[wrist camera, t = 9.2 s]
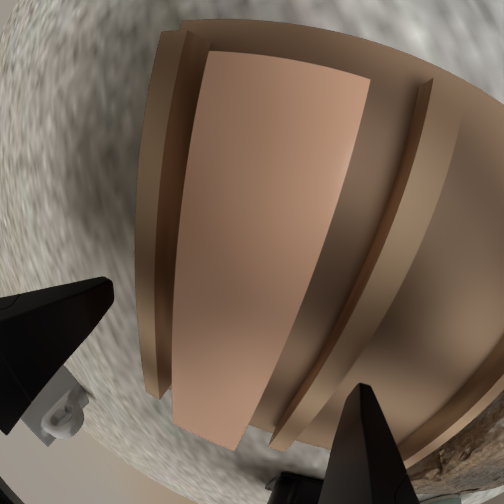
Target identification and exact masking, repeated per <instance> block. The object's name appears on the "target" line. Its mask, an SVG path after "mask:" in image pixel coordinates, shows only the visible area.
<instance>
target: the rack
mask: <svg viewBox="0 0 504 504" xmlns="http://www.w3.org/2000/svg"><path fill="white" fill-rule="evenodd" d="M180 30H189V31H191V32H193V33H195V34H197V35H199V36H201V37H202V38H204V39H206V40H208V41H210V42H211V45H210V49H209V51H222V52H236V53H247V54H257V55H265V56H272V57H279V58H285V59H291V60H296V61H301V62H306V63H311V64H316V65H320V66H325V67H329V68H333V69H337V70H340V71H344V72H348V73H351V74H355V75H358V76H361V77H364V78H368V79H371V80H370V85H369V89H368V93H367V98H366V102H365V106H364V110H363V114H362V118H361V122H360V126H359V130H358V133H357V137H356V141H355V144H354V148H353V152H352V155H351V159H350V162H349V166H348V169H347V172H346V176H345V179H344V182H343V186H342V189H341V192H340V195H339V199H338V202H337V205H336V208H335V211H334V214H333V217H332V220H331V223H330V226H329V229H328V232H327V235H326V238H325V241H324V244H323V247H322V250H321V252H320V255H319V258H318V261H317V264H316V266H315V269H314V272H313V274H312V277H311V280H310V282H309V285H308V288H307V290H306V293H305V296H304V298H303V301H302V303H301V306H300V308H299V311H298V313H297V316H296V318H295V321H294V323H293V326H292V328H291V331H290V333H289V335H288V338H287V340H286V343H285V345H284V347H283V350H282V352H281V354H280V357H279V359H278V361H277V364H276V366H275V368H274V370H273V373H272V375H271V377H270V379H269V381H268V384H267V386H266V388H265V390H264V392H263V394H262V397H261V399H260V401H259V403H258V405H257V407H256V409H255V411H254V413H253V415H252V417H251V420H250V422H249V424H248V425H251V426H254V427H256V428H259V429H262V430H265V431H268V432H271V433H273V432H274V429H275V427H276V425H277V424H278V422H279V421H280V419H281V418H282V416H283V415H284V413H285V411H286V410H287V408H288V407H289V405H290V404H291V402H292V400H293V399H294V397H295V396H296V394H297V392H298V391H299V389H300V387H301V386H302V384H303V382H304V381H305V379H306V377H307V376H308V374H309V372H310V371H311V369H312V367H313V365H314V364H315V362H316V360H317V358H318V356H319V355H320V353H321V351H322V349H323V347H324V345H325V344H326V342H327V340H328V338H329V336H330V334H331V332H332V330H333V328H334V326H335V324H336V322H337V320H338V318H339V316H340V314H341V312H342V310H343V308H344V306H345V304H346V302H347V300H348V298H349V296H350V294H351V291H352V289H353V287H354V285H355V283H356V280H357V278H358V276H359V274H360V271H361V269H362V267H363V264H364V262H365V260H366V257H367V255H368V253H369V250H370V248H371V245H372V243H373V240H374V238H375V235H376V233H377V230H378V227H379V225H380V222H381V219H382V217H383V214H384V211H385V208H386V206H387V203H388V200H389V197H390V194H391V191H392V188H393V185H394V182H395V179H396V176H397V173H398V169H399V166H400V163H401V159H402V156H403V153H404V149H405V145H406V142H407V138H408V134H409V131H410V127H411V123H412V118H413V114H414V110H415V106H416V101H417V96H418V91H419V87H420V86H421V85H423V84H424V83H426V82H427V81H429V80H430V79H432V78H433V77H435V78H437V79H439V80H441V81H443V82H445V83H447V84H449V85H451V86H453V87H455V88H457V89H459V90H460V91H462V92H464V93H466V96H465V102H464V108H463V113H462V118H461V122H460V127H459V131H458V135H457V139H456V143H455V147H454V151H453V155H452V158H451V162H450V165H449V168H448V172H447V175H446V178H445V181H444V184H443V187H442V190H441V193H440V196H439V199H438V202H437V204H436V207H435V210H434V212H433V215H432V217H431V220H430V223H429V225H428V228H427V230H426V232H425V235H424V237H423V239H422V242H421V244H420V246H419V249H418V251H417V253H416V255H415V257H414V260H413V262H412V264H411V266H410V268H409V270H408V272H407V274H406V276H405V278H404V280H403V282H402V284H401V286H400V288H399V290H398V292H397V294H396V296H395V298H394V299H393V301H392V303H391V305H390V307H389V309H388V310H387V312H386V314H385V316H384V317H383V319H382V321H381V323H380V324H379V326H378V328H377V329H376V331H375V333H374V334H373V336H372V337H371V339H370V341H369V342H368V344H367V345H366V347H365V349H364V350H363V352H362V353H361V355H360V356H359V358H358V359H357V361H356V362H355V364H354V365H353V367H352V368H351V370H350V371H349V372H348V374H347V375H346V377H345V378H344V380H343V381H342V382H341V384H340V385H339V386H338V388H337V389H336V391H335V392H334V393H333V395H332V396H331V397H330V398H329V400H328V401H327V402H326V404H325V405H324V406H323V407H322V409H321V410H320V411H319V412H318V414H317V415H316V416H315V417H314V419H313V420H312V421H311V422H310V423H309V425H308V426H307V427H306V428H305V429H304V431H303V432H302V433H301V434H300V435H299V436H298V437H297V439H296V441H300V442H303V443H307V444H310V445H314V446H318V447H322V448H326V449H330V450H331V448H332V444H333V440H334V437H335V433H336V430H337V427H338V424H339V420H340V417H341V414H342V410H343V407H344V403H345V400H346V398H347V396H348V395H349V394H350V393H351V391H352V390H353V389H354V388H355V386H356V385H357V384H358V383H364V384H368V385H370V386H371V387H372V389H373V391H374V393H375V395H376V398H377V400H378V402H379V404H380V407H381V409H382V411H383V414H384V416H385V418H386V421H387V423H388V425H389V428H390V430H391V432H392V435H393V437H394V440H395V442H396V445H397V446H398V445H399V444H400V443H402V442H403V441H404V440H406V439H407V438H408V437H409V436H411V435H412V434H413V433H414V432H416V431H417V430H418V429H419V428H420V427H422V426H423V425H424V424H425V423H426V422H427V421H428V420H430V419H431V418H432V417H433V416H434V415H435V414H436V413H437V412H438V411H439V410H440V409H442V408H443V407H444V406H445V405H446V404H447V403H448V402H449V401H450V400H451V399H452V398H453V397H454V396H455V395H456V394H457V393H458V392H459V391H460V389H461V388H462V387H463V386H464V385H465V384H466V383H467V382H468V381H469V380H470V379H471V377H472V376H473V375H474V374H475V373H476V372H477V370H478V369H479V368H480V367H481V366H482V364H483V363H484V362H485V361H486V360H487V358H488V357H489V356H490V354H491V353H492V352H493V351H494V349H495V348H496V347H497V345H498V344H499V342H500V341H501V340H502V338H503V337H504V105H503V104H502V103H501V102H499V101H498V100H496V99H495V98H493V97H491V96H490V95H488V94H487V93H485V92H484V91H482V90H480V89H479V88H477V87H475V86H474V85H472V84H470V83H468V82H467V81H465V80H463V79H461V78H459V77H457V76H455V75H454V74H452V73H450V72H448V71H446V70H444V69H442V68H439V67H437V66H435V65H433V64H431V63H429V62H426V61H424V60H422V59H419V58H417V57H415V56H412V55H410V54H407V53H404V52H402V51H399V50H396V49H394V48H391V47H388V46H385V45H382V44H379V43H376V42H373V41H369V40H366V39H362V38H359V37H355V36H351V35H347V34H343V33H339V32H335V31H330V30H325V29H320V28H315V27H309V26H303V25H297V24H289V23H281V22H272V21H260V20H242V19H203V20H185V21H182V23H181V27H180ZM206 62H207V61H206ZM203 75H204V74H203ZM200 89H201V88H200ZM169 389H170V390H172V384H171V385H170V386H169Z"/></svg>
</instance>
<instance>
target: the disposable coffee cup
mask: <svg viewBox="0 0 504 504" xmlns="http://www.w3.org/2000/svg"><path fill="white" fill-rule="evenodd" d="M420 504H461V498H459V494H450V495H445V496H440V497H436V498H432V499H428V500H426V501H423V502H420Z"/></svg>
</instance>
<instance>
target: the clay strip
mask: <svg viewBox="0 0 504 504" xmlns="http://www.w3.org/2000/svg"><path fill="white" fill-rule="evenodd" d="M370 80H371V79H368V78H364V77H361V76H358V75H355V74H351V73H348V72H344V71H340V70H337V69H333V68H329V67H325V66H320V65H316V64H311V63H306V62H301V61H296V60H291V59H285V58H279V57H272V56H265V55H257V54H247V53H236V52H222V51H209V53H208V57H207V62H206V66H205V70H204V75H203V79H202V84H201V89H200V93H199V98H198V103H197V108H196V114H195V119H194V124H193V130H192V136H191V142H190V148H189V154H188V161H187V168H186V174H185V182H184V189H183V197H182V205H181V214H180V223H179V233H178V244H177V255H176V268H175V283H174V300H173V324H172V411H173V424H175V425H177V426H179V427H181V428H183V429H185V430H187V431H189V432H191V433H193V434H195V435H197V436H200V437H202V438H204V439H206V440H208V441H211V442H213V443H215V444H218V445H220V446H222V447H225V448H227V449H230V450H232V451H235V449H236V447H237V445H238V443H239V441H240V439H241V437H242V436H243V434H244V432H245V430H246V428H247V426H248V424H249V422H250V420H251V417H252V415H253V413H254V411H255V409H256V407H257V405H258V403H259V401H260V399H261V397H262V394H263V392H264V390H265V388H266V386H267V384H268V381H269V379H270V377H271V375H272V373H273V370H274V368H275V366H276V364H277V361H278V359H279V357H280V354H281V352H282V350H283V347H284V345H285V343H286V340H287V338H288V335H289V333H290V331H291V328H292V326H293V323H294V321H295V318H296V316H297V313H298V311H299V308H300V306H301V303H302V301H303V298H304V296H305V293H306V290H307V288H308V285H309V282H310V280H311V277H312V274H313V272H314V269H315V266H316V264H317V261H318V258H319V255H320V252H321V250H322V247H323V244H324V241H325V238H326V235H327V232H328V229H329V226H330V223H331V220H332V217H333V214H334V211H335V208H336V205H337V202H338V199H339V195H340V192H341V189H342V186H343V182H344V179H345V176H346V172H347V169H348V166H349V162H350V159H351V155H352V152H353V148H354V144H355V141H356V137H357V133H358V130H359V126H360V122H361V118H362V114H363V110H364V106H365V102H366V98H367V93H368V89H369V85H370Z"/></svg>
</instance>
